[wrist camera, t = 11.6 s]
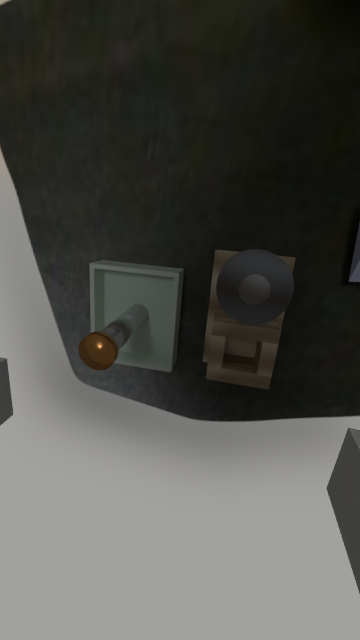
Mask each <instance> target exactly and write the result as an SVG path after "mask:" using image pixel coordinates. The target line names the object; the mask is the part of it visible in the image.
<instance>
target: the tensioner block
mask: <svg viewBox="0 0 360 640" xmlns="http://www.w3.org/2000/svg"><path fill="white" fill-rule="evenodd" d="M294 263H295V257H288V256H278V255H275V254H274V253H271V252H269V251H266V250H261V249H249V250H245V251H242V252H236V251H226V250H215V257H214V266H213V274H212V283H211V292H210V301H209V309H208V318H207V327H206V335H205V344H204V353H203V362H208V366H207V374H206V379H207V380H214V381H220V382H226V383H232V384H238V385H244V386H250V387H256V388H262V389H269V387H270V382H271V377H272V372H273V368H274V363H275V358H276V353H277V348H278V343H279V338H280V333H281V328H282V323H283V318H284V313H285V310H286V308H287V307H288V305H289V304H290V302H291V299H292V297H293V292H294V280H293V276H292V273H293V268H294Z"/></svg>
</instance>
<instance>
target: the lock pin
mask: <svg viewBox="0 0 360 640" xmlns="http://www.w3.org/2000/svg"><path fill="white" fill-rule="evenodd" d="M147 319H148V310H147V309H146V307H144V306H143V305H141V304H134V305H132V306H131V307H130V308H129V309H127V310H126V311H125V312H124V313H122V314H121V315H120V316H119V317H117V318H116V319H115V320H114V321H112V322H111V323H110V324H109V325H107V326H106V327H105V328H104V329H102V330H101V331H95V332H92V333H90V334H89V335H87V336H86V337H85V338H84V339H82V341H81V342H80V344H79V355H80V357H81V359H82V361H83V362H84V363H85V364H86V365H87V366H89V367H90V368H92V369H95V370H105V369H107V368H109V367H110V366H111V365H112V364H113V363H114V362H115V360H116V359H117V357H118V355H119V349H120V348H121V347H122V346H123V345H124V344H125V343H126V342H127V341H128V340H129V339H130V338H131V337H132V335H133V334H134V333H135V332H136V331H137V330H138V329H139V328H140V327H141V326H142V325H143V324H144V323H145V321H146V320H147Z"/></svg>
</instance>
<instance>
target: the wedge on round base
mask: <svg viewBox="0 0 360 640" xmlns="http://www.w3.org/2000/svg"><path fill="white" fill-rule="evenodd" d="M349 282H360V223H359V228H358V233H357V239H356V244H355V249H354V255H353V260H352V265H351V271H350V276H349Z"/></svg>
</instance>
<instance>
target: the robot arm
mask: <svg viewBox="0 0 360 640" xmlns="http://www.w3.org/2000/svg"><path fill="white" fill-rule="evenodd" d="M12 415H13V408H12V399H11V391H10V383H9V374H8V365H7V359H5V358H0V425H1V424H3V423H4V422H5V421H6V420H7V419H8V418H10V417H11V416H12ZM327 491H328V494H329V497H330V500H331V503H332V507H333V510H334V513H335V516H336V519H337V522H338V526H339V529H340V532H341V535H342V538H343V542H344V545H345V548H346V551H347V554H348V558H349V560H350V564H351V567H352V570H353V574H354V577H355V580H356V583H357V586H358V589H359V593H360V430H356V429H351V428H348V431H347V433H346V436H345V439H344V442H343V444H342V447H341V450H340V453H339V455H338V458H337V461H336V464H335V467H334V469H333V472H332V475H331V478H330V480H329V483H328V486H327Z"/></svg>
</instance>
